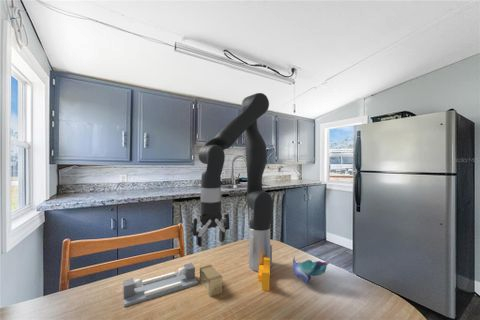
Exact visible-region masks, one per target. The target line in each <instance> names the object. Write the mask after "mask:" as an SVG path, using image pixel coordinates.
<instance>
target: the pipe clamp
mask: <svg viewBox="0 0 480 320" xmlns="http://www.w3.org/2000/svg"><path fill="white" fill-rule="evenodd" d="M270 276H271V267H270V258H267V257H264V259H263V265H259V272H258V275H257V281H258V282H261V291H265V292H266V291H267V292H270V281H271V280H270V278H271V277H270Z"/></svg>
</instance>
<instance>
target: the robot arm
mask: <svg viewBox="0 0 480 320" xmlns="http://www.w3.org/2000/svg"><path fill="white" fill-rule="evenodd" d="M269 107H270V101H269V98H268V96H267V95H266V94H265V93H262V92H257V93H254V94H251V95H249V96H247V97H244V99H243V100H242V101H241V113H239V115H237V116H236V117H234V118H233V119H232V120H230V121H229V122H228V123H227V124H226V125H225V126H224V127H222V129H221V130H220V131H218V133H217V134H216V135H215V136H214V137H212V138H211V139H210V140H208V141H207V142H206V143H204V145H202V147H200V149H199V151H198V159H199V161H200V162H201V163H202V164H205V165H206V170H205V171H203V172H202V174H201V180H200V181H201V182H200V183H201V189H200V215H199V217H195V216H192V217H191V223H190V224H191V225H190V234H191V235H192V236H193V237H196V239H195V243H196V245H197V246H198V248H201V247H202V246H203V245H202V244H203V243H202V242H203V241H202V240H203V236H202V235H203V233H204V232H206V231H207V229H211V228H218V230H219V231H218V238H219V242H220V243H224V241H225V239H226V238H225V237H226V235H225V234H226V231H228V230H230V214H229V213H227V212H223V213H222V187H221V184H222V183H221V181H222V180H221V179H222V172H223V169H224V164H225V158H226V155H225V150H228V149H230V148H231V147H232V146H233V145H234V144H235V142H236V141H238V139H239V138H240V137H241V136H242V134H243V133H244V139H245V140H244V142H245V162H246V177H247V178H246V180H247V181H246V183H247V184H246V204H247V206H248V208H249V209H251V210H252V211H253V214H252V215H253V217H252V218H251V219H250V220H249V223H248V224H249V225H248V234H249V235H248V267H249V269H250V270H252V271H255V272H258V273H259V265H263V259H264V257H267V258H270V268H272V267H273V244H271V224H272V221H273V212H274V211H273V210H274V209H273V208H274V203H273V197H272V195H271V194H270V192H266V191H263V175H264V171H265V169H266V165H267V161H268V155H267V153H268V152H267V144H266V141H265V139H264V138H263V136H262V134H261V133H260V130H259V127H258V119H259V118H260V117H262V116H263V115H265V113H267V111H269ZM221 220H223V223H221ZM199 222H200V225H199V226H198V224H199Z"/></svg>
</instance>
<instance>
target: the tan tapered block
mask: <svg viewBox="0 0 480 320" xmlns="http://www.w3.org/2000/svg"><path fill="white" fill-rule="evenodd" d="M199 283H200V285H201V286H202V287H203V288H204V290H205V292H206V293H207V295H208V296H209V298H211V297H213V296H214V297H215V296H217V295H219V294H222V293H223V276H222V275H221V274H220V273H219V272H218V271H217V270H216V269H215V267H214V266H213V265H212V264H208V265H207V264H206V265H204V266H200V267H199Z"/></svg>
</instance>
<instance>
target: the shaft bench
mask: <svg viewBox="0 0 480 320" xmlns="http://www.w3.org/2000/svg"><path fill="white" fill-rule="evenodd" d="M177 271H178V272H176V271H173V272H169V273H166V274H162V275H159V276H155V277H150V278H146V279H144V280H143V278H137V279H134V277H132V278H128V279H123V281H122V282H123V287H122V294H123V307H124V308H126V307H129V306H132V305H135V304H138V303H141V302H142V303H143V302H144V301H149V300H151V299H154V298H158V297H161V296H164V295H167V294H171V293H173V292H177V291H181V290H184V289H186V288H190V287H193V286H196V285H198V283H199V281H198V280H197V278H196V267H195V265H194V264H193V263H192V262H190V263H186V264H184V266H182V267H179V268H178V270H177Z"/></svg>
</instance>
